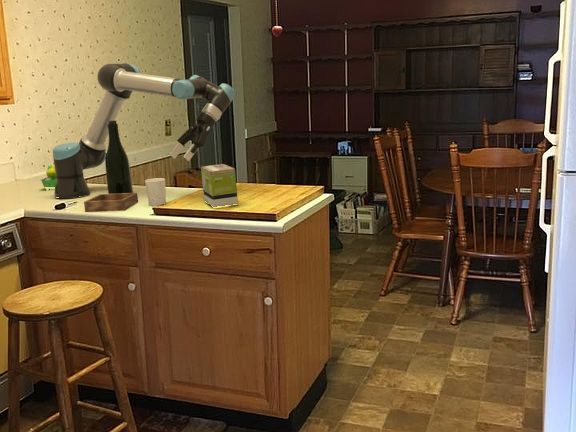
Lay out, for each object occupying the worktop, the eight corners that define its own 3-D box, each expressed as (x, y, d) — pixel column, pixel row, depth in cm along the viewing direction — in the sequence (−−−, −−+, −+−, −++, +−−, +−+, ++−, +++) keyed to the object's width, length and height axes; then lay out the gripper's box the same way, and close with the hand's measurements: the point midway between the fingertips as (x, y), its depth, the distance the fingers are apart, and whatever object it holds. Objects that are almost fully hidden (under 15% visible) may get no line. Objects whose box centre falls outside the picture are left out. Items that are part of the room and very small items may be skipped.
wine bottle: (115, 194, 281) (106, 120, 274) (137, 193, 279) (128, 119, 272) (104, 199, 271) (94, 122, 264) (127, 198, 269) (118, 121, 262)
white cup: (148, 203, 256) (146, 178, 254) (168, 201, 257) (165, 177, 254) (146, 207, 248) (143, 182, 246) (166, 205, 249) (163, 180, 247)
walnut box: (85, 212, 246) (83, 201, 245) (101, 203, 261) (99, 194, 260) (124, 210, 244) (123, 200, 243) (138, 202, 259) (137, 192, 259)
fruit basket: (43, 191, 303) (39, 168, 300) (41, 189, 310) (38, 166, 308) (67, 188, 307) (64, 165, 305) (66, 186, 315) (63, 163, 312)
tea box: (203, 203, 250) (200, 166, 246) (227, 199, 253) (224, 163, 250) (213, 209, 236) (210, 170, 233) (239, 206, 239) (236, 167, 236)
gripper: (229, 123, 251) (199, 165, 246) (201, 122, 271) (173, 161, 266) (216, 111, 247) (185, 153, 242) (189, 111, 267) (160, 150, 262)
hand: (178, 157), depth 254 cm, fingers open, 13 cm apart
